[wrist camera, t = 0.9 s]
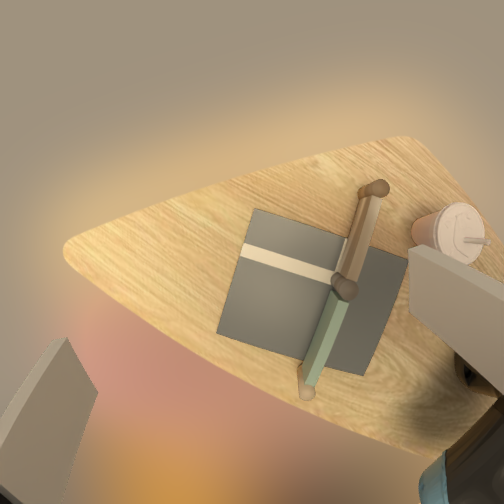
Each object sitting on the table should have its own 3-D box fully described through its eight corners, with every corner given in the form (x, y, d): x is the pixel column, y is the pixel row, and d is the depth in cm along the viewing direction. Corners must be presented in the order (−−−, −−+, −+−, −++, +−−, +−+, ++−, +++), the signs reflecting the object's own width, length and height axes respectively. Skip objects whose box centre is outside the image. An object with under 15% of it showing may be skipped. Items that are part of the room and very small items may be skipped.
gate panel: (328, 288, 36) (336, 300, 30) (341, 292, 36) (353, 305, 30) (295, 374, 37) (296, 398, 31) (308, 377, 37) (311, 402, 31)
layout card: (408, 259, 35) (409, 260, 35) (362, 375, 37) (363, 376, 36) (254, 208, 36) (254, 208, 36) (216, 332, 38) (216, 333, 38)
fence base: (374, 190, 35) (392, 183, 28) (342, 290, 36) (355, 303, 30) (359, 184, 35) (374, 176, 28) (327, 285, 36) (336, 297, 30)
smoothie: (409, 264, 35) (468, 283, 21) (395, 215, 35) (452, 210, 21) (448, 248, 34) (515, 258, 20) (436, 200, 34) (501, 190, 20)
